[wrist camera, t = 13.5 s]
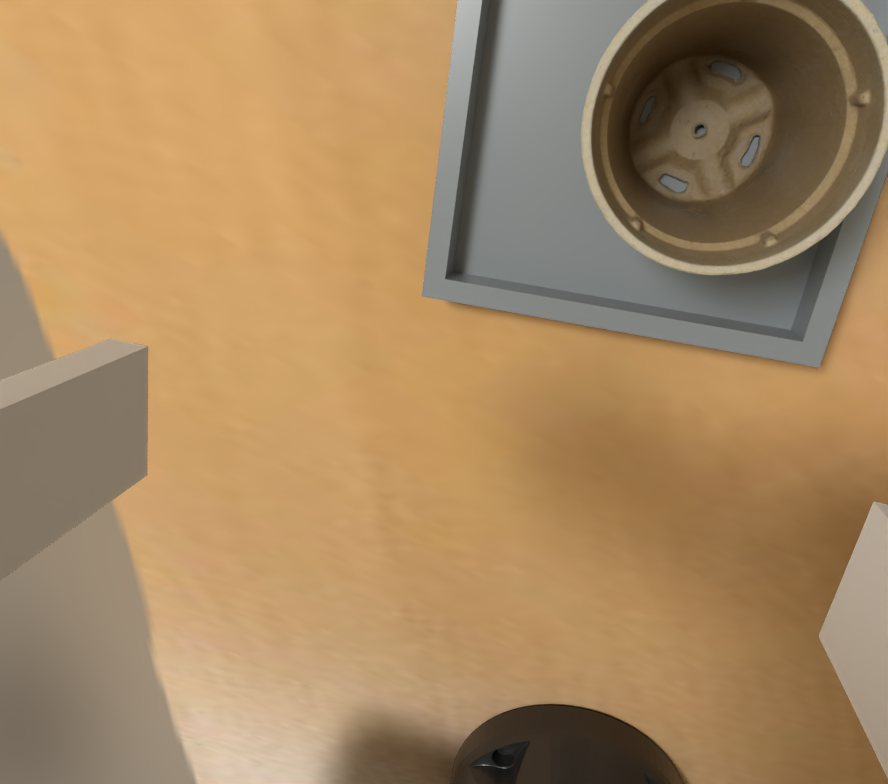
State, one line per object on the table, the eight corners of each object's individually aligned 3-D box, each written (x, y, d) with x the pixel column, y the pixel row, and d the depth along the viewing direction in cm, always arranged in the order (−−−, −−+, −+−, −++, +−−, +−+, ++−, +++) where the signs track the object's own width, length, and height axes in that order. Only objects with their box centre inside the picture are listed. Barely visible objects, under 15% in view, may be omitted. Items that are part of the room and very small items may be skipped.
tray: (800, 348, 33) (819, 367, 31) (435, 283, 36) (421, 296, 33) (950, -96, 27) (991, -123, 24) (489, -137, 29) (478, -165, 26)
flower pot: (584, 244, 33) (580, 279, 25) (585, 19, 30) (581, -23, 22) (801, 236, 31) (873, 272, 23) (827, -5, 28) (921, -62, 20)
